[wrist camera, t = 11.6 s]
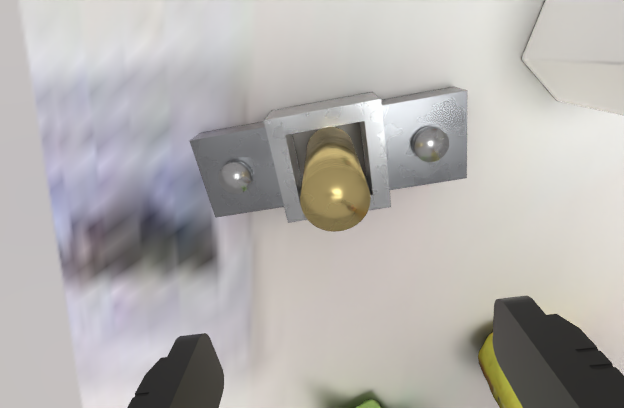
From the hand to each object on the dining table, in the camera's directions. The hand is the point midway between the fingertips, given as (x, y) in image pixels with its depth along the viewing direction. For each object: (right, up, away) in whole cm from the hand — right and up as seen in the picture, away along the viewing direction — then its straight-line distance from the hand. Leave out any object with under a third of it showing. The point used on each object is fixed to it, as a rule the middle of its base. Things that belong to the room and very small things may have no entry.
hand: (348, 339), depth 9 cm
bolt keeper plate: (0, +8, +18) cm, 20 cm away
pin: (0, +8, +18) cm, 20 cm away
